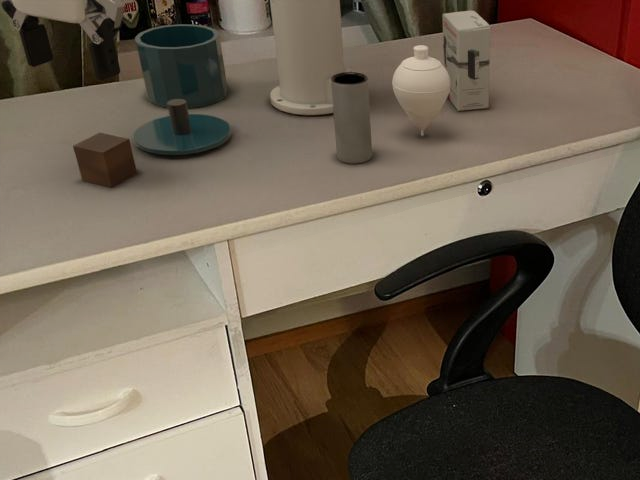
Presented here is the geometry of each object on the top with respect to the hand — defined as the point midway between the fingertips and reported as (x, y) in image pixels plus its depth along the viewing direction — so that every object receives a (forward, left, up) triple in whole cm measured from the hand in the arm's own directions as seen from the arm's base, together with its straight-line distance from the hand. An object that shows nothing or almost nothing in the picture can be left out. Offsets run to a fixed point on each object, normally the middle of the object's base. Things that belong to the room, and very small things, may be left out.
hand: (74, 69), depth 98 cm
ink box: (-30, -43, -13) cm, 54 cm away
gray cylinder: (-25, -18, -13) cm, 34 cm away
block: (-1, 0, -13) cm, 13 cm away
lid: (-2, -13, -12) cm, 18 cm away
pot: (+8, -27, -13) cm, 31 cm away
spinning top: (-30, -28, -13) cm, 43 cm away
